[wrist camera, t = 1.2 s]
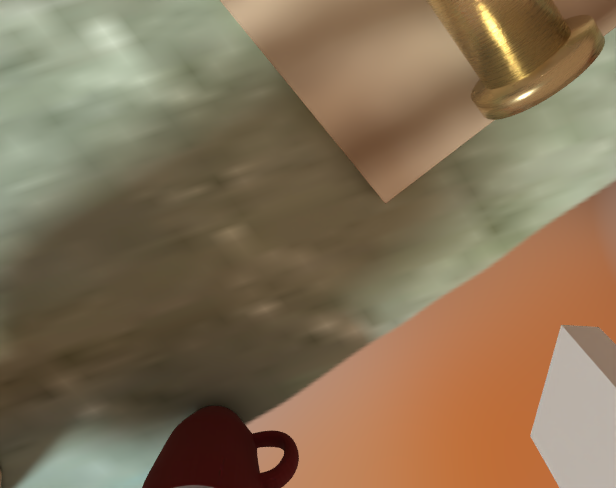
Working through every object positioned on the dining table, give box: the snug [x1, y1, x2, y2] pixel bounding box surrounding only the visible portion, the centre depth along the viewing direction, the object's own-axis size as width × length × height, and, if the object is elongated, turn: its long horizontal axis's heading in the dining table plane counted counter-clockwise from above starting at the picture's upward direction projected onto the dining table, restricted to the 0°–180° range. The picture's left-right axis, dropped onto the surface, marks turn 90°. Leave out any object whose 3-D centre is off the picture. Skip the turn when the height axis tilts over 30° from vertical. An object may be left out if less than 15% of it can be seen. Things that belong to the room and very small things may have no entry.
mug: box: [142, 406, 299, 488], centre depth 40 cm, size 11×8×10 cm
